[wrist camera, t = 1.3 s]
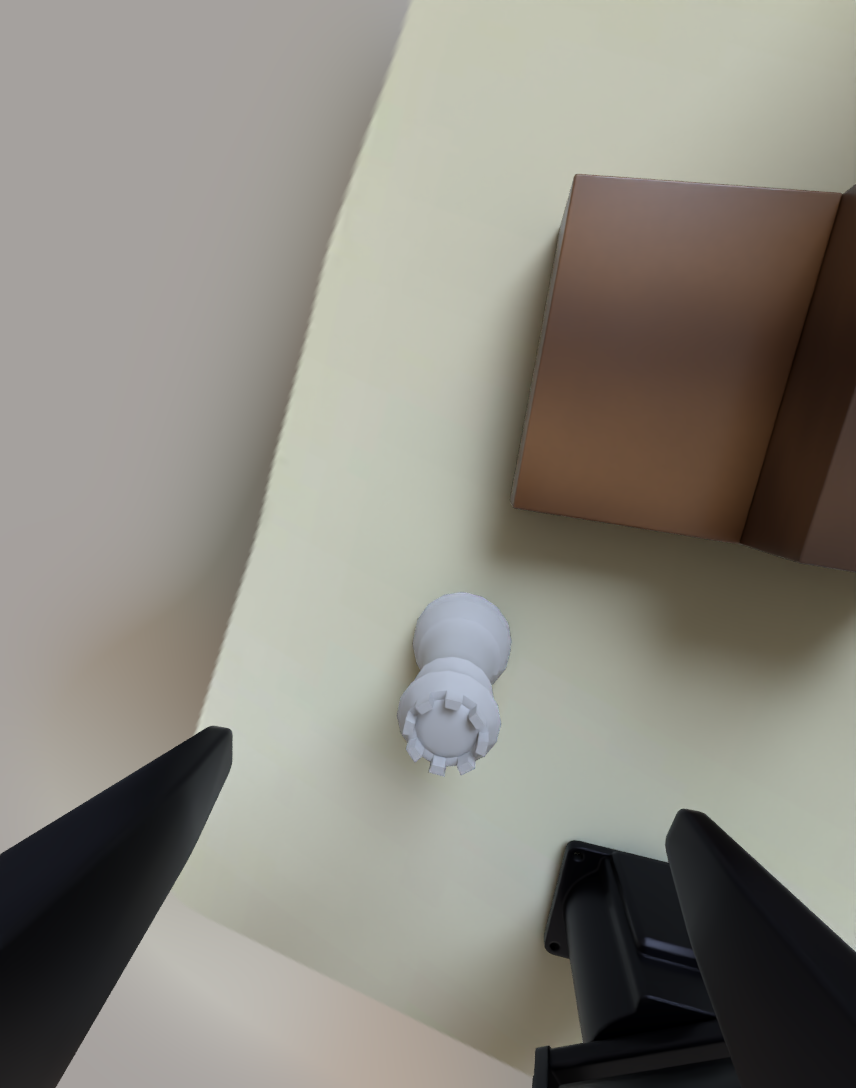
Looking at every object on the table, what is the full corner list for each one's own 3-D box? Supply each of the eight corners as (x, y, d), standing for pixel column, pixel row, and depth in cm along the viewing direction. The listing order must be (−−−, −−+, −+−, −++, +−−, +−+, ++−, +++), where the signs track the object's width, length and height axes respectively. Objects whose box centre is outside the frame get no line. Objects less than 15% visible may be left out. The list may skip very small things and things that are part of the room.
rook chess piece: (527, 613, 20) (550, 708, 12) (487, 694, 21) (484, 830, 13) (437, 573, 20) (403, 641, 12) (402, 655, 21) (349, 765, 13)
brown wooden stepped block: (912, 565, 17) (1218, 638, 10) (509, 501, 19) (519, 523, 12) (1026, 262, 15) (1523, 72, 8) (560, 222, 17) (612, 39, 10)
